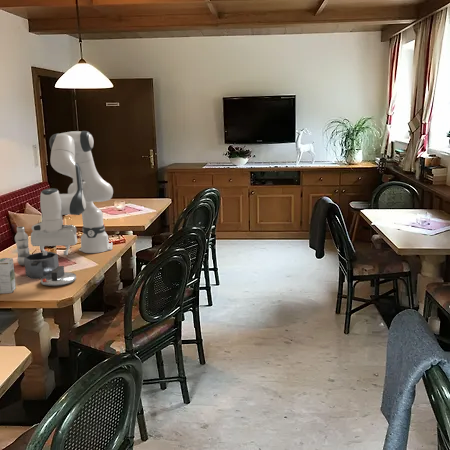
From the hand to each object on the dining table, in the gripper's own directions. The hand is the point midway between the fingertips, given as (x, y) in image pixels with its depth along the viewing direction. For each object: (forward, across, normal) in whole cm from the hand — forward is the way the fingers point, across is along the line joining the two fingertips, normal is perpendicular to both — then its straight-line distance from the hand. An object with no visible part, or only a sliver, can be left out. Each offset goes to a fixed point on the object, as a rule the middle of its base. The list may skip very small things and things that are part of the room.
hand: (55, 254), depth 231 cm
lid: (+13, 0, 0) cm, 13 cm away
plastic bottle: (+13, +27, -29) cm, 42 cm away
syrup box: (+14, +19, +10) cm, 25 cm away
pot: (+13, +12, -14) cm, 22 cm away
